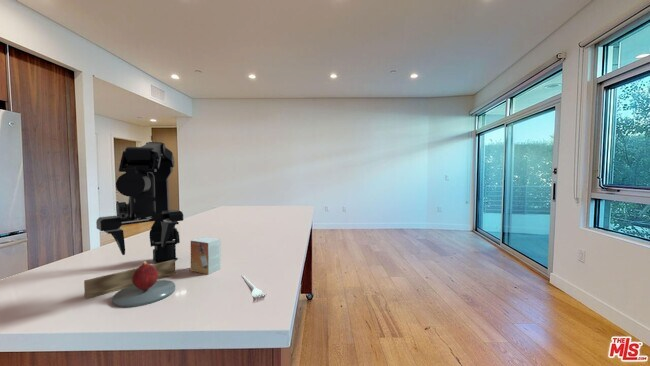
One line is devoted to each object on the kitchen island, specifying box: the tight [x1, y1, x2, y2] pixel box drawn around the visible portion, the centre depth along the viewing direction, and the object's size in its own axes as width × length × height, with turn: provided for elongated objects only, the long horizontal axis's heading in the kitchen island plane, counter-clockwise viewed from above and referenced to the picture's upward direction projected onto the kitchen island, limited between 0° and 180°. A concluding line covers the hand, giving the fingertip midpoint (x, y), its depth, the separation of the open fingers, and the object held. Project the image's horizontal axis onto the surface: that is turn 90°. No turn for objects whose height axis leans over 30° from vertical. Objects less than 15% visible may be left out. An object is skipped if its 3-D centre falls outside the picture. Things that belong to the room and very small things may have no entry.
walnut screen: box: [83, 260, 177, 300], centre depth 78 cm, size 22×2×4 cm, turn 140°
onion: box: [132, 260, 159, 291], centre depth 72 cm, size 6×6×8 cm
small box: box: [190, 237, 222, 275], centre depth 89 cm, size 8×6×10 cm
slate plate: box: [112, 279, 176, 308], centre depth 72 cm, size 14×14×1 cm
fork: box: [241, 274, 268, 299], centre depth 77 cm, size 3×20×2 cm, turn 32°
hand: (144, 250), depth 72 cm, fingers open, 9 cm apart
